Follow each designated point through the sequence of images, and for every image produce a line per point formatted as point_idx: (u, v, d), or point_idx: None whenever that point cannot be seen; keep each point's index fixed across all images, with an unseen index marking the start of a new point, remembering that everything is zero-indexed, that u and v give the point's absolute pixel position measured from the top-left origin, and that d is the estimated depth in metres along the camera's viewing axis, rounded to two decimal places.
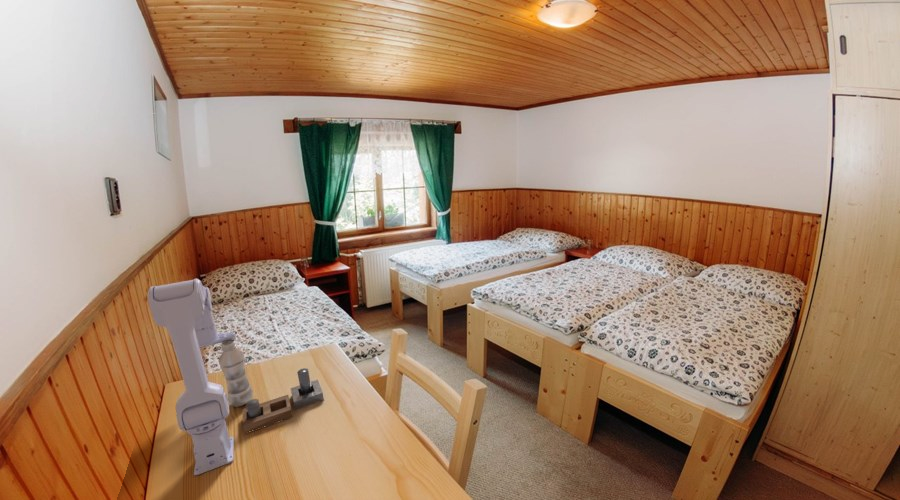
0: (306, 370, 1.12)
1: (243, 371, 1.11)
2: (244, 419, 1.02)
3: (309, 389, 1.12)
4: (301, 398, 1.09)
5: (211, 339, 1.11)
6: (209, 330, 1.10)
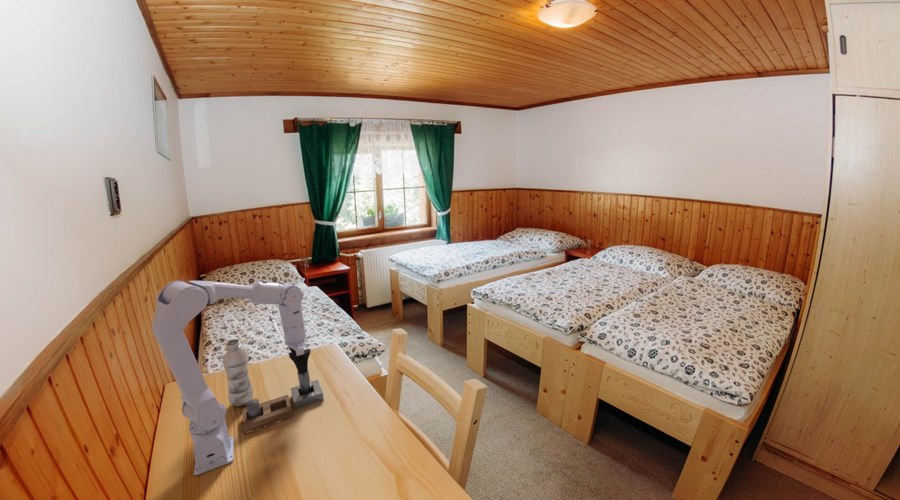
0: None
1: (245, 372, 1.10)
2: (244, 419, 1.02)
3: (309, 389, 1.12)
4: (301, 398, 1.09)
5: (286, 340, 1.06)
6: (285, 331, 1.06)
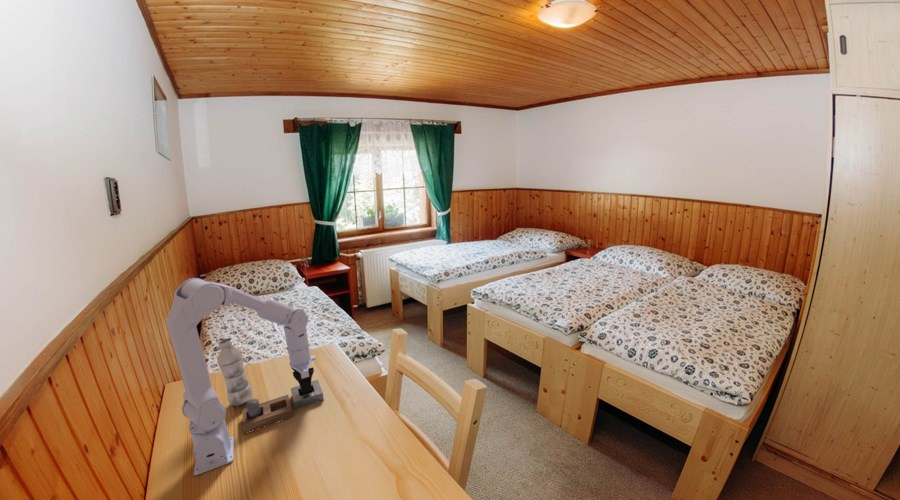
0: None
1: (241, 369, 1.11)
2: (244, 419, 1.02)
3: None
4: (301, 398, 1.09)
5: (291, 363, 1.08)
6: (290, 354, 1.07)
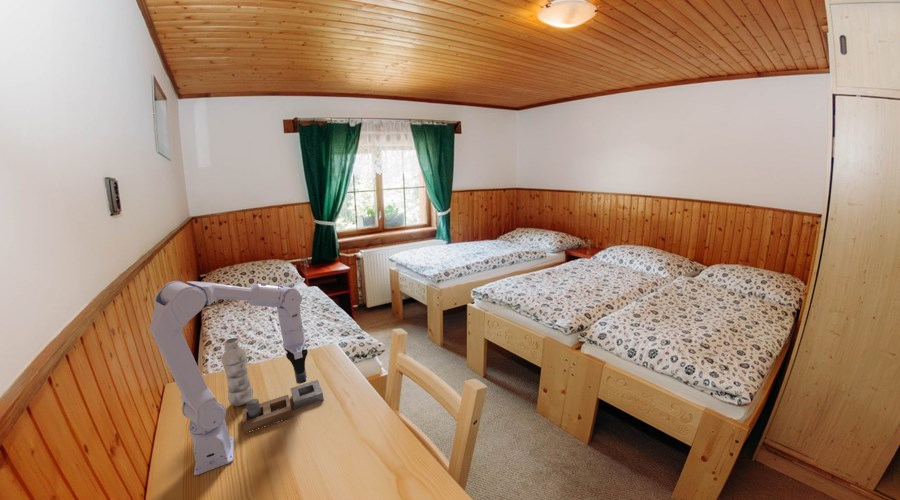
0: None
1: (245, 370, 1.11)
2: (244, 419, 1.02)
3: None
4: (301, 398, 1.09)
5: (285, 343, 1.06)
6: (283, 334, 1.05)
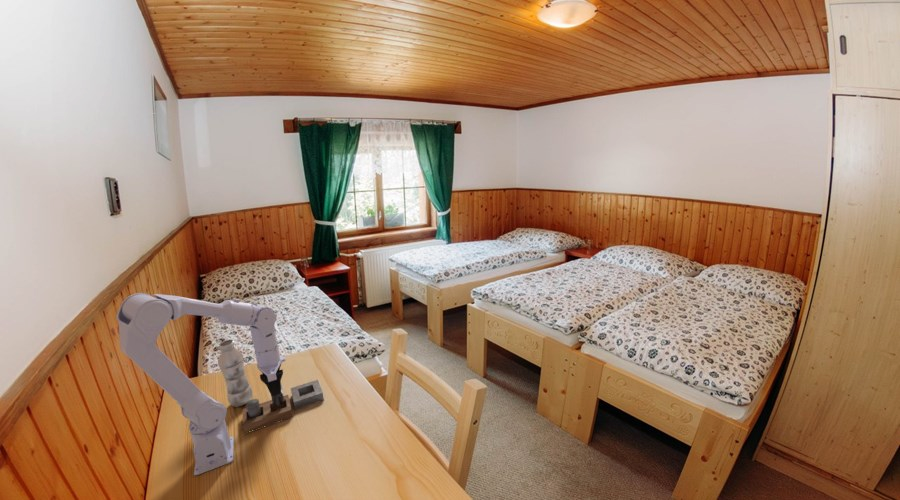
0: None
1: (242, 371, 1.10)
2: (244, 419, 1.02)
3: (280, 393, 1.05)
4: (301, 398, 1.09)
5: (259, 364, 1.01)
6: (257, 355, 1.00)
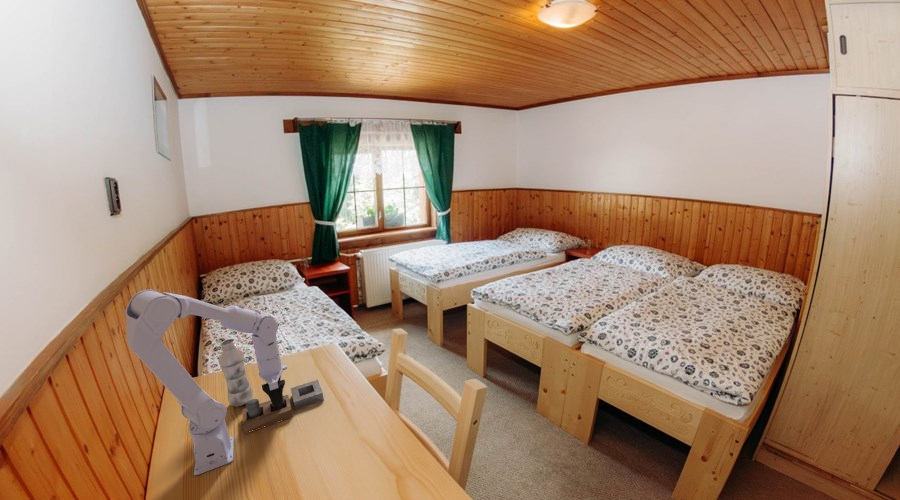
0: None
1: (243, 371, 1.11)
2: (244, 419, 1.02)
3: (282, 404, 1.06)
4: (301, 398, 1.09)
5: (260, 373, 1.02)
6: (259, 363, 1.01)
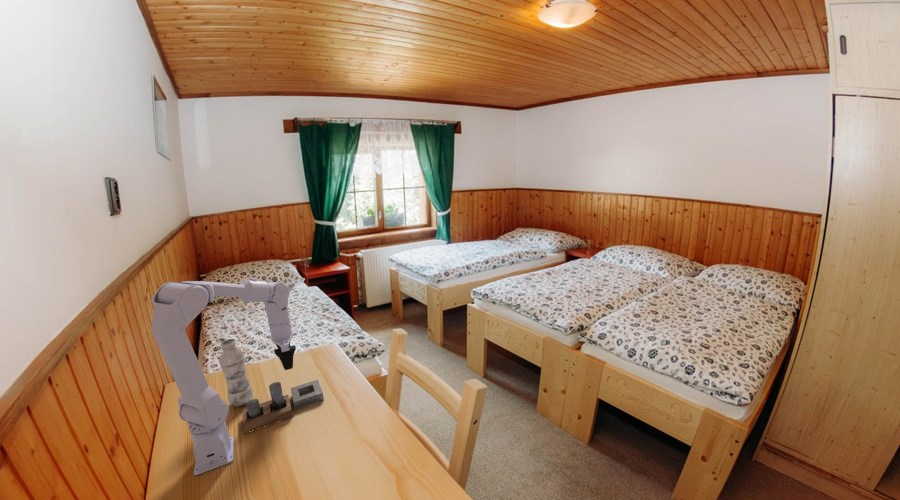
0: (278, 384, 1.06)
1: (243, 371, 1.11)
2: (244, 419, 1.02)
3: (282, 404, 1.06)
4: (301, 398, 1.09)
5: (272, 337, 1.09)
6: (271, 328, 1.08)
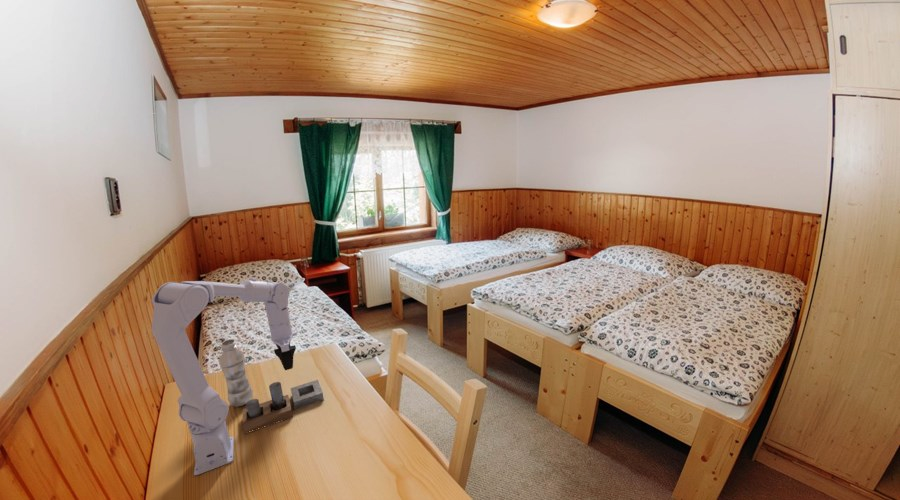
0: (278, 384, 1.06)
1: (243, 371, 1.10)
2: (244, 419, 1.02)
3: (282, 404, 1.06)
4: (301, 398, 1.09)
5: (272, 337, 1.09)
6: (271, 328, 1.08)
